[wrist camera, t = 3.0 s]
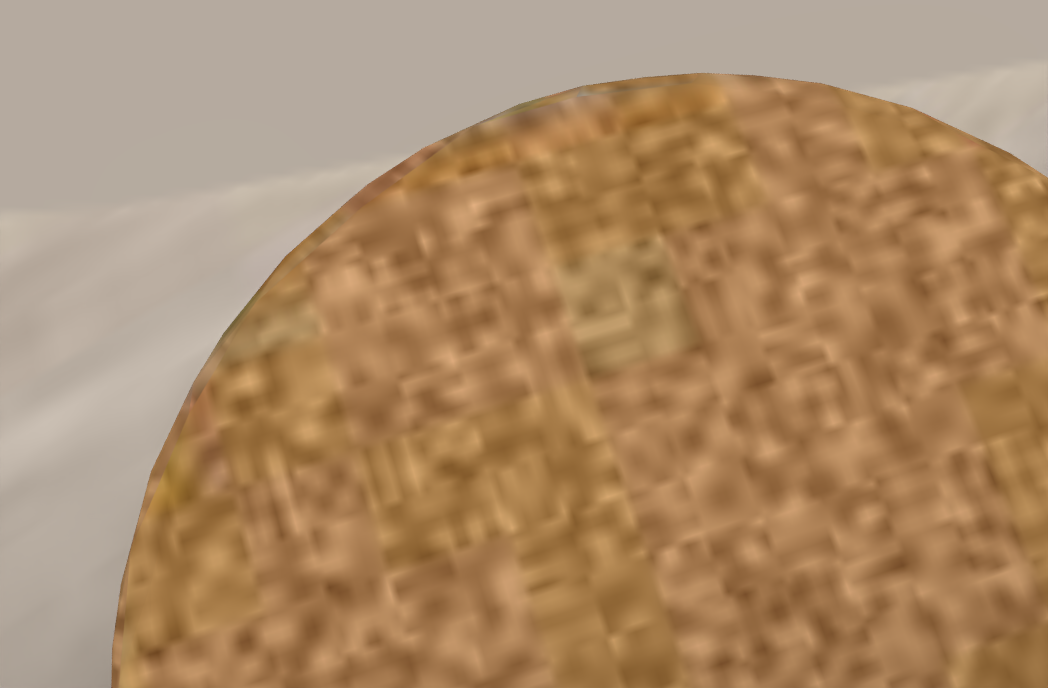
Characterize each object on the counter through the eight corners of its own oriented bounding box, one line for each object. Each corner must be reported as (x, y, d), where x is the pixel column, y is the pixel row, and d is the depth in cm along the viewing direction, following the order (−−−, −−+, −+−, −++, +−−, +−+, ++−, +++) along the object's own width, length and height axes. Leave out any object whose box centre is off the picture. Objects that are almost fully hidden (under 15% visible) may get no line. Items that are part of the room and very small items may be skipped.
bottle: (668, 401, 19) (1387, -32, 4) (671, 697, 18) (1689, 1635, 3) (387, 393, 18) (33, -103, 4) (372, 693, 17) (-224, 1706, 3)
